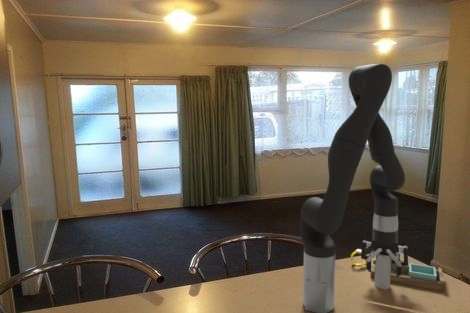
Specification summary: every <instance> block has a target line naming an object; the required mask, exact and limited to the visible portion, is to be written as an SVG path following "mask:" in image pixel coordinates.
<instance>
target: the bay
mask: <svg viewBox="0 0 470 313" xmlns="http://www.w3.org/2000/svg"><path fill="white" fill-rule="evenodd" d="M375 261H376V259H372V264H371V272H370V279H374V280H375ZM391 271H394V272H397V264H396V263H391ZM401 273H406V274H409V264H408V266H402V269H401ZM396 275H397V273H396V274H395V273H391V277H390V283H396V284H402V285H408V286H413V287H417V288H418V287H419V288H423V289H428V290H429V289H430V290H434V291H439V292H444V291H445V290H444V286H445V279H444V273H443V269H442V267H437V269H436V275H437V280H438V281H437V280H436V281H431V280H425V279H419V278H414V277H409V275H408V276H407V275H402V274H401V276H399V277H396Z"/></svg>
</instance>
